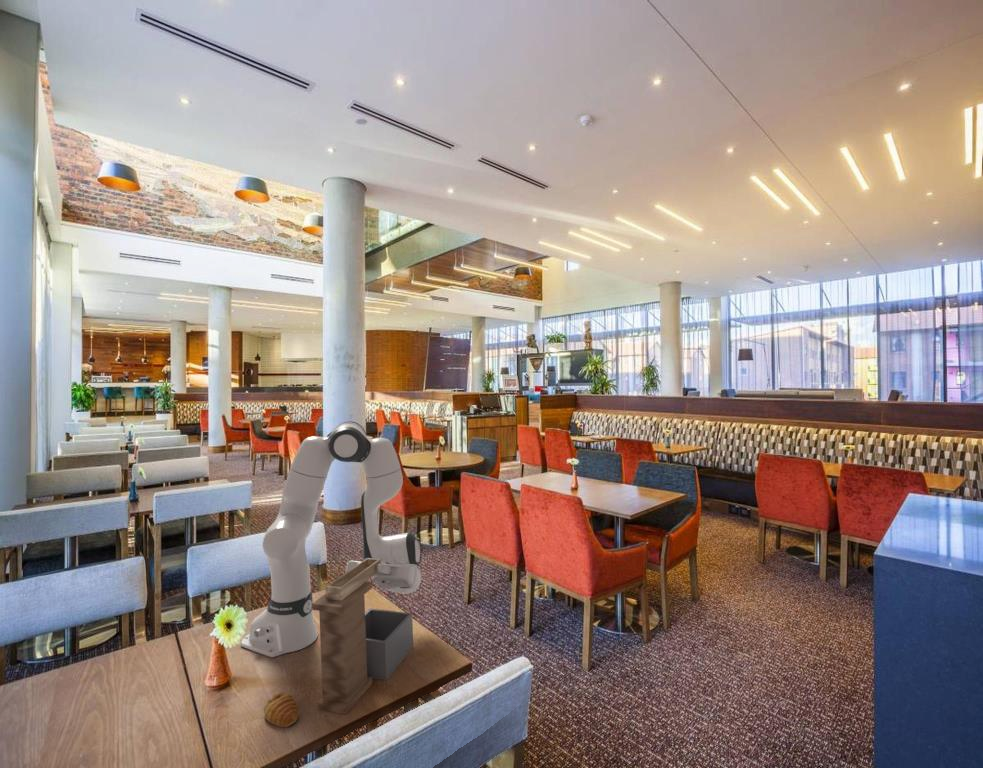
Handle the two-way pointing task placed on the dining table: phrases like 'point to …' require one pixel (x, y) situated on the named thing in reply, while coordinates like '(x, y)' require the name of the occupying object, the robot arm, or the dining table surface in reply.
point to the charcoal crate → (387, 641)
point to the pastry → (281, 710)
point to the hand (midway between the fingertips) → (367, 566)
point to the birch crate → (352, 579)
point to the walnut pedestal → (343, 650)
